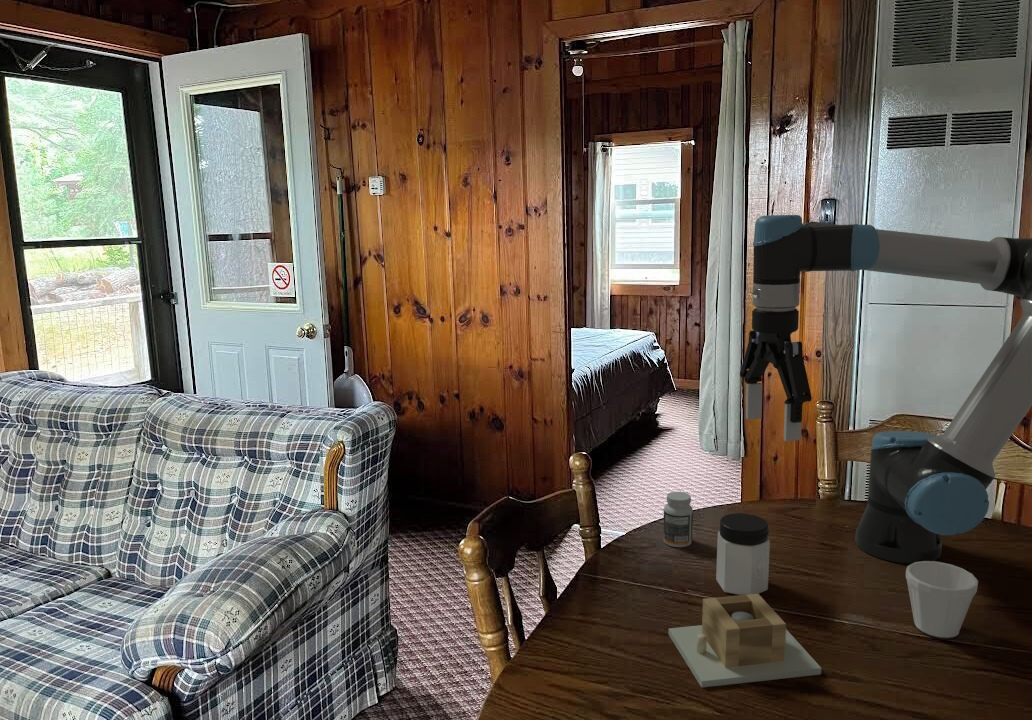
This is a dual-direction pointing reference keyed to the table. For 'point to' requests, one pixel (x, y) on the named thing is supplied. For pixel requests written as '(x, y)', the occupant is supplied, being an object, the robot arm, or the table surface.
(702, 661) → the post fixture
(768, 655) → the open wooden square frame
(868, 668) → the table surface
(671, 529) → the pill bottle
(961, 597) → the cup
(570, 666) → the table surface
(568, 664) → the table surface
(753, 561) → the jar
